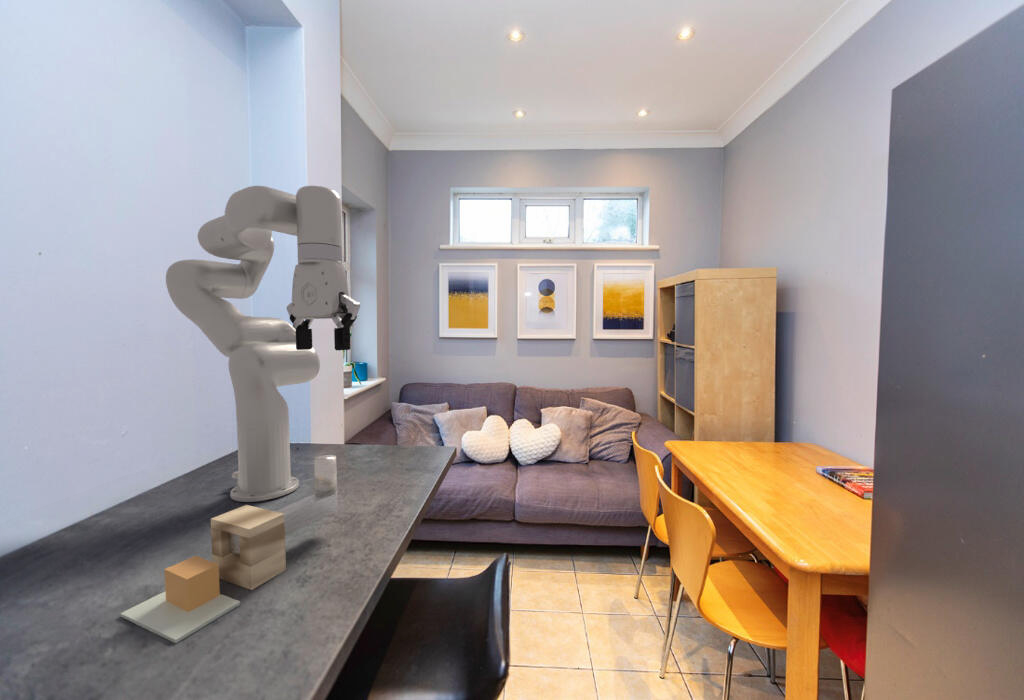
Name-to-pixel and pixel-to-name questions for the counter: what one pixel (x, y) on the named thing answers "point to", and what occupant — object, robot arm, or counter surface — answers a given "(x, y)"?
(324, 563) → the counter surface
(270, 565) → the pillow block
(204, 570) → the block
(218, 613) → the pad
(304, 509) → the shaft
